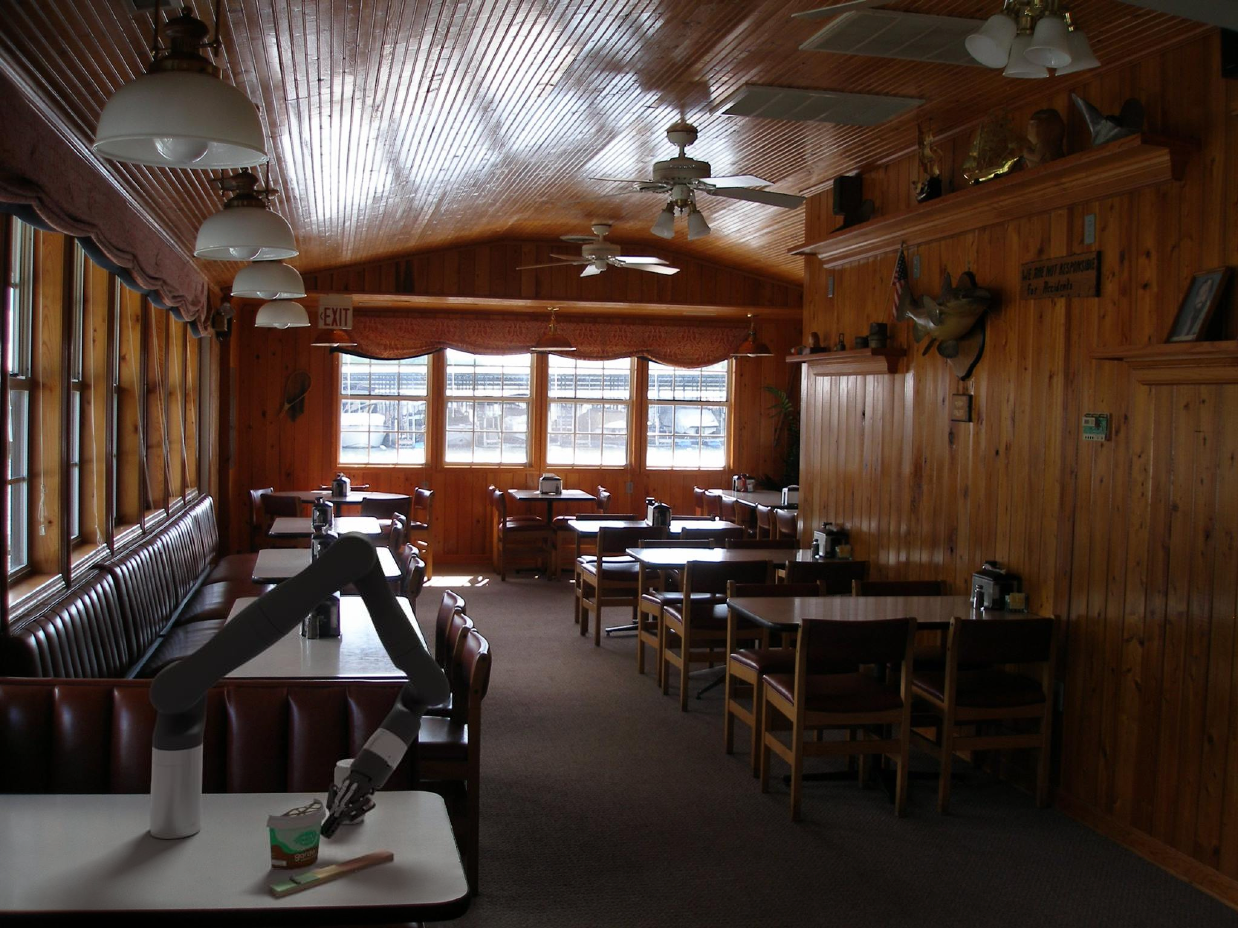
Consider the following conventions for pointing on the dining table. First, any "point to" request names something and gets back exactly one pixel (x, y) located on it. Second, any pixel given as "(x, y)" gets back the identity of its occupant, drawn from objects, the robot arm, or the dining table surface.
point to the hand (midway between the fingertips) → (323, 835)
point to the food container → (296, 836)
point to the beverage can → (340, 773)
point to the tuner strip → (330, 873)
